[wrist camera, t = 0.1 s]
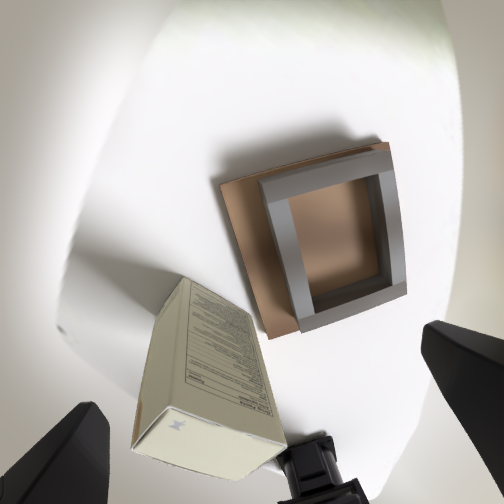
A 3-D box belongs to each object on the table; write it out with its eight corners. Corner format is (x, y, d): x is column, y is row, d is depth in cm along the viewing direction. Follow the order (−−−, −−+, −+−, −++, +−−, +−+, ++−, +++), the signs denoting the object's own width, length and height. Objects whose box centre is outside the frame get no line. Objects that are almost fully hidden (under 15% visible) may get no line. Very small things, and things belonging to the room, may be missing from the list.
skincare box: (154, 317, 23) (120, 449, 11) (183, 273, 22) (160, 401, 10) (225, 355, 24) (237, 487, 13) (257, 316, 24) (291, 449, 12)
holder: (402, 286, 24) (420, 302, 21) (267, 334, 24) (273, 357, 21) (383, 141, 20) (405, 143, 17) (219, 184, 20) (220, 190, 17)
